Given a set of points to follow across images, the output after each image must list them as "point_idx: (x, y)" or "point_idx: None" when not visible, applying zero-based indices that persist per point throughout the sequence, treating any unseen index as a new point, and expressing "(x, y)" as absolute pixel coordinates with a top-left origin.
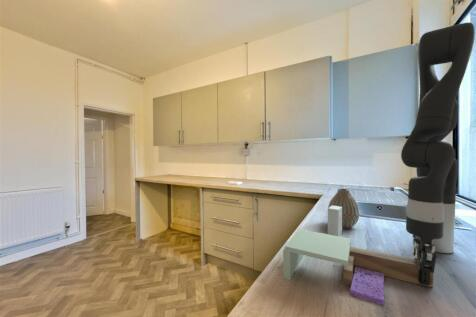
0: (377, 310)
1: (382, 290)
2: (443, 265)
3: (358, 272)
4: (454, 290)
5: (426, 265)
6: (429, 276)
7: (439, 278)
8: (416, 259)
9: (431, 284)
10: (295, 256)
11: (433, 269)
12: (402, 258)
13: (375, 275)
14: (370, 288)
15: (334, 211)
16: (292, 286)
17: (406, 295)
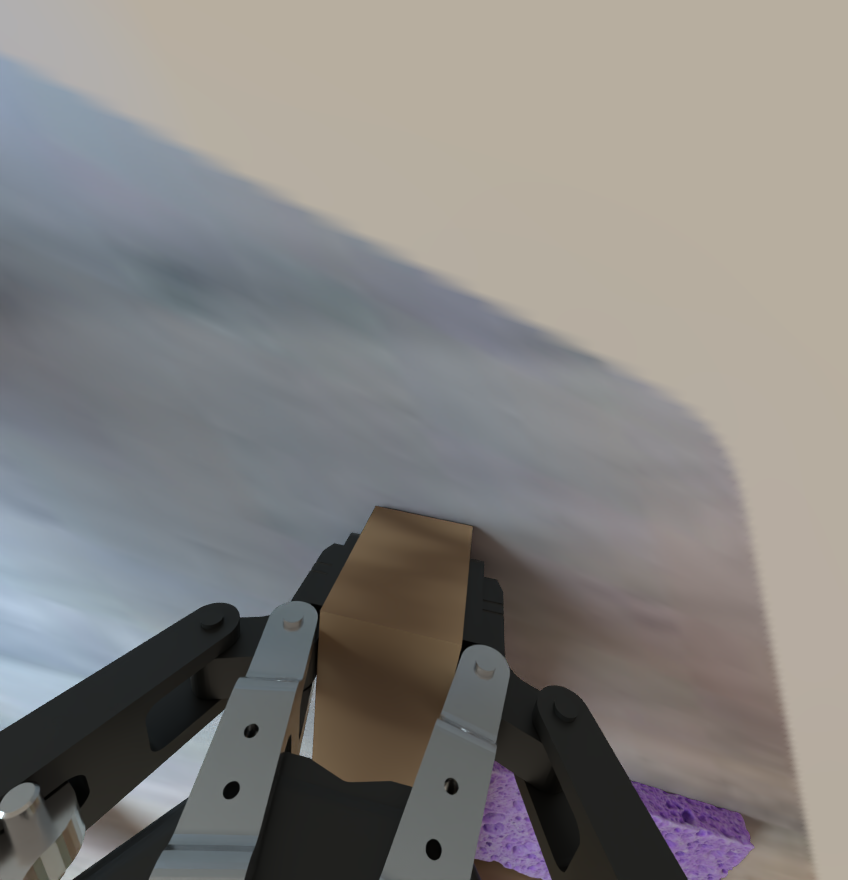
0: (794, 849)
1: (654, 820)
2: (30, 276)
3: (489, 851)
4: (446, 391)
5: (411, 667)
6: (482, 611)
7: (298, 414)
8: (312, 689)
9: (470, 544)
10: None
11: (614, 758)
12: (344, 770)
13: (493, 798)
14: None
15: None
16: None
17: (616, 693)
